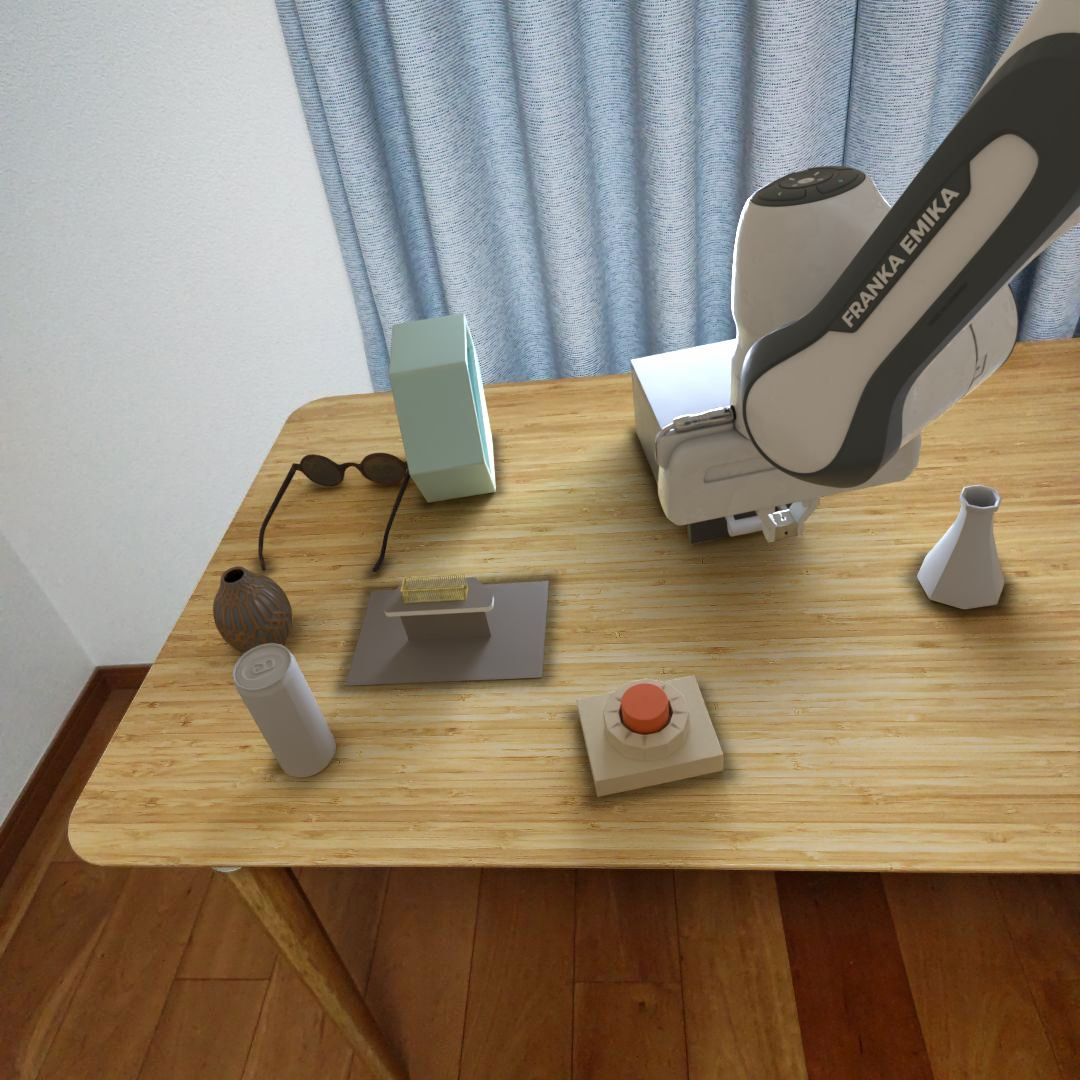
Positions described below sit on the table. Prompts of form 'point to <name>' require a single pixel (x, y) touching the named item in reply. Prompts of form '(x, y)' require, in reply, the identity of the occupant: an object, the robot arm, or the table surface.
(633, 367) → the single drawer cabinet
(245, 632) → the vase
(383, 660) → the platform
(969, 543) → the flask
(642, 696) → the button
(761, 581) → the table surface
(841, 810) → the table surface
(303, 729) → the beverage can
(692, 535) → the cabinet drawer
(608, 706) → the block
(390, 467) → the eyeglasses
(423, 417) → the planter
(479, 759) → the table surface
